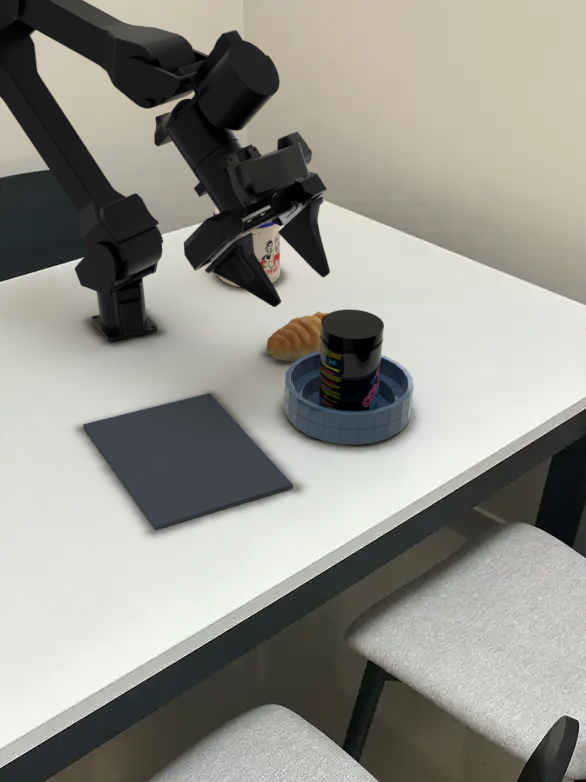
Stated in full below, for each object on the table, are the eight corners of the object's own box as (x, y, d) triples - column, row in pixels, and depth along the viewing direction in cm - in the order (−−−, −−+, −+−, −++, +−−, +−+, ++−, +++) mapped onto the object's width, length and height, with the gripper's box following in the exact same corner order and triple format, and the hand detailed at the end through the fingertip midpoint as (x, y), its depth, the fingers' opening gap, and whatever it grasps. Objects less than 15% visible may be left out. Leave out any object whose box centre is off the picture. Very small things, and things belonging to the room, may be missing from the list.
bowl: (263, 397, 111) (262, 364, 108) (367, 370, 116) (370, 338, 113) (324, 460, 102) (325, 426, 99) (433, 428, 108) (438, 395, 105)
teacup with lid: (271, 293, 130) (271, 206, 122) (207, 284, 131) (202, 196, 123) (294, 258, 139) (295, 174, 131) (233, 250, 140) (231, 166, 132)
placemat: (83, 428, 104) (82, 424, 104) (209, 396, 110) (209, 392, 110) (155, 529, 92) (155, 525, 92) (292, 488, 98) (292, 484, 98)
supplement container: (359, 432, 106) (365, 345, 98) (306, 414, 108) (309, 327, 101) (387, 405, 110) (395, 319, 103) (336, 388, 112) (339, 303, 105)
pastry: (286, 371, 115) (286, 342, 112) (254, 349, 119) (253, 320, 116) (347, 350, 120) (348, 322, 117) (314, 329, 123) (315, 301, 121)
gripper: (199, 132, 87) (297, 282, 91) (314, 88, 99) (397, 223, 103) (142, 200, 95) (234, 335, 99) (254, 152, 107) (333, 274, 111)
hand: (303, 289), depth 103 cm, fingers open, 9 cm apart
